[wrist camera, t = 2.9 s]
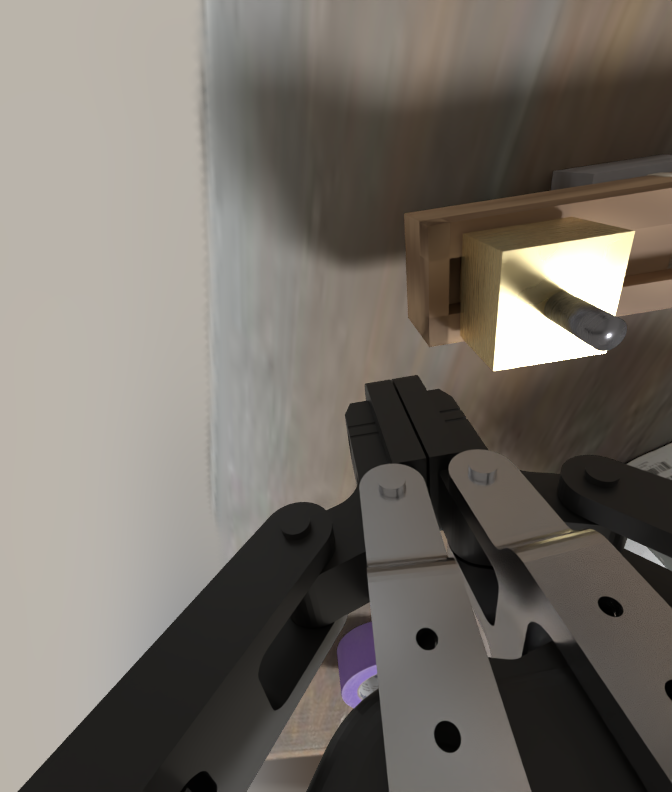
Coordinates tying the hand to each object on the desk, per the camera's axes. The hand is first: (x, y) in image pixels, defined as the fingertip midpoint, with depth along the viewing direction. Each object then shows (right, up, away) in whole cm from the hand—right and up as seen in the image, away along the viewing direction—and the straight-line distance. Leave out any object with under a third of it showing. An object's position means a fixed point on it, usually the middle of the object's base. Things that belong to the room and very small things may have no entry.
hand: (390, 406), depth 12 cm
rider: (+7, +7, +9) cm, 13 cm away
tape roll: (+4, -31, +40) cm, 51 cm away
